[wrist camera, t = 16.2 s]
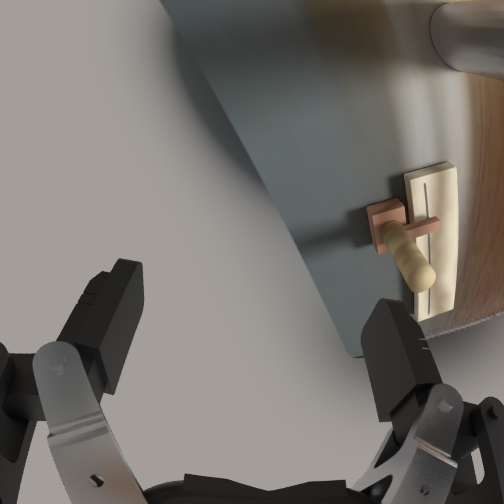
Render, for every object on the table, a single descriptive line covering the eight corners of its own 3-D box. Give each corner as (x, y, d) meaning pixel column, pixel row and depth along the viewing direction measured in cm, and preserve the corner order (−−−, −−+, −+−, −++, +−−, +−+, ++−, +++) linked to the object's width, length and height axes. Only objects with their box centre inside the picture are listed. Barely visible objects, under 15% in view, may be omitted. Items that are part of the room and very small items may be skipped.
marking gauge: (423, 189, 37) (473, 240, 27) (426, 227, 40) (469, 283, 30) (366, 206, 39) (402, 265, 28) (372, 244, 42) (404, 307, 31)
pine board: (448, 161, 35) (456, 167, 33) (448, 301, 48) (453, 308, 46) (403, 174, 36) (410, 180, 34) (414, 313, 49) (418, 321, 48)
